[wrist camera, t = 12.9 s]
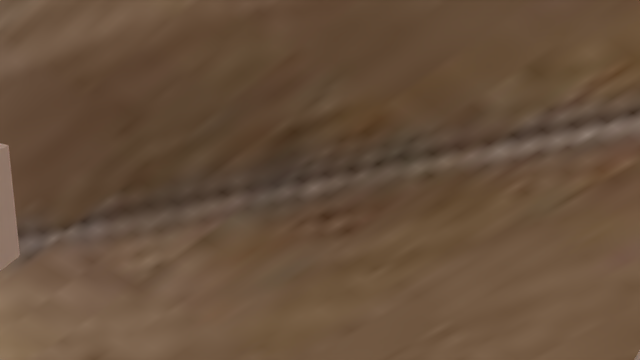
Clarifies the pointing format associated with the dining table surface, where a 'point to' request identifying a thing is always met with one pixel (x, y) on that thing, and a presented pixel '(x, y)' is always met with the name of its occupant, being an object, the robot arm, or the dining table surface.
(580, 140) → the dining table surface
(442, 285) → the dining table surface
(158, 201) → the dining table surface
